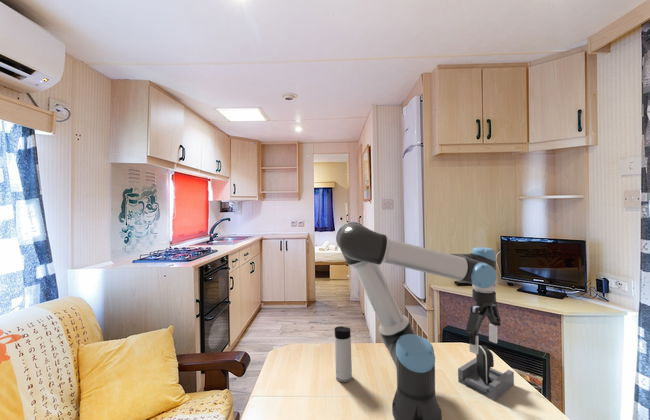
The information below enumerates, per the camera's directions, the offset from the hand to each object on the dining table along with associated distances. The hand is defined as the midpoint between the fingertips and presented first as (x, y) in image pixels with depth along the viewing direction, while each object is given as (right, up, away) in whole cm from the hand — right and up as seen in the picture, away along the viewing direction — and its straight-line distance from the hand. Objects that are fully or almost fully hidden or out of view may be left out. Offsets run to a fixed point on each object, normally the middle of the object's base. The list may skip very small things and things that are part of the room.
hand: (483, 347), depth 105 cm
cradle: (+1, -14, 0) cm, 14 cm away
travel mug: (-51, -15, +6) cm, 54 cm away
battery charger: (+1, -12, +1) cm, 12 cm away
